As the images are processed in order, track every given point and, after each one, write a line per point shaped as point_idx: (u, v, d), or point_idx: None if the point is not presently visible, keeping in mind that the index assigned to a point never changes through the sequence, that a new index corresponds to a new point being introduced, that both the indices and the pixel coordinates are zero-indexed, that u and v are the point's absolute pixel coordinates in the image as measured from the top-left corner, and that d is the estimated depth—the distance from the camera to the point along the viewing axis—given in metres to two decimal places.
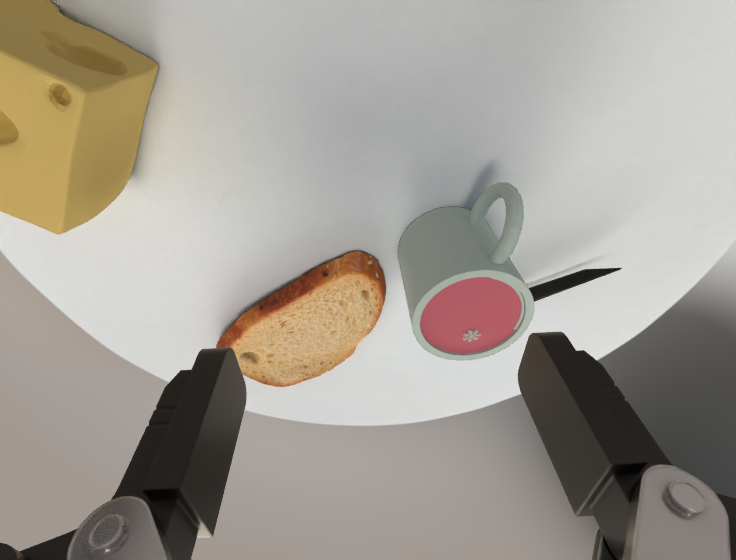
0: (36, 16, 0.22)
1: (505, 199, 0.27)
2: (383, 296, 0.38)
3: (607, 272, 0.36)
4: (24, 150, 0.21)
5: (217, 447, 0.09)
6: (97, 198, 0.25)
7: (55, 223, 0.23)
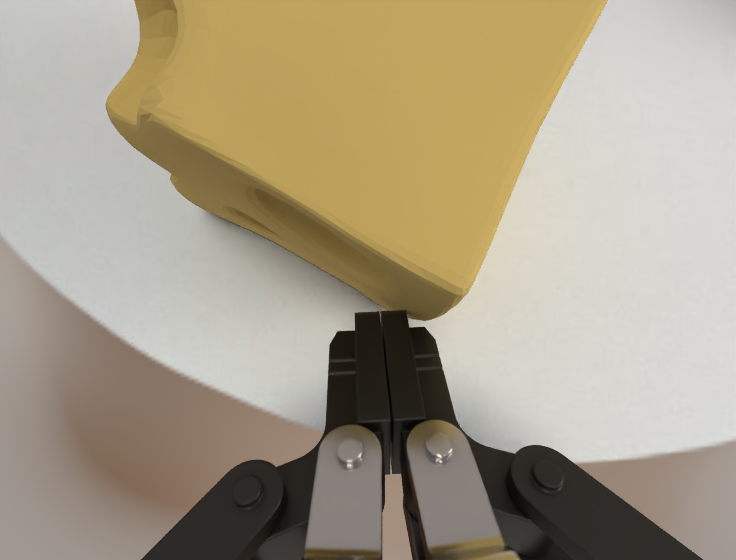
0: None
1: None
2: None
3: None
4: None
5: None
6: None
7: None
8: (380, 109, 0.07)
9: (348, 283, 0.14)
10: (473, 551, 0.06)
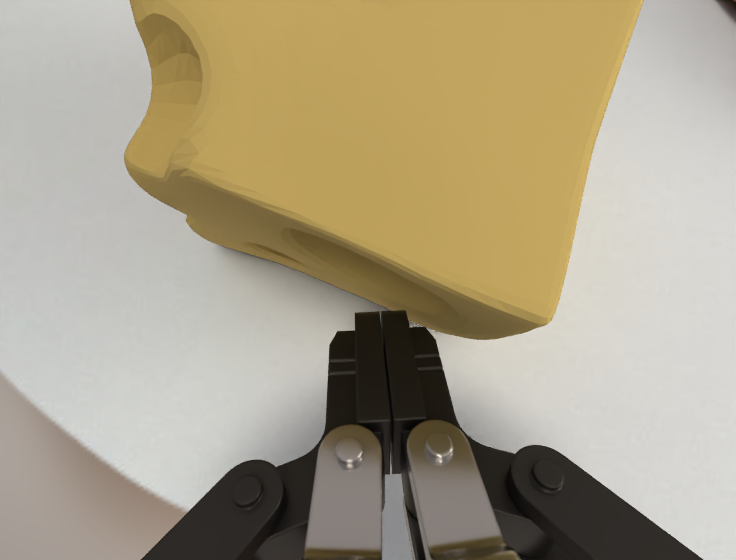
0: None
1: None
2: None
3: None
4: None
5: None
6: None
7: None
8: (431, 138, 0.07)
9: (381, 304, 0.14)
10: (473, 551, 0.06)
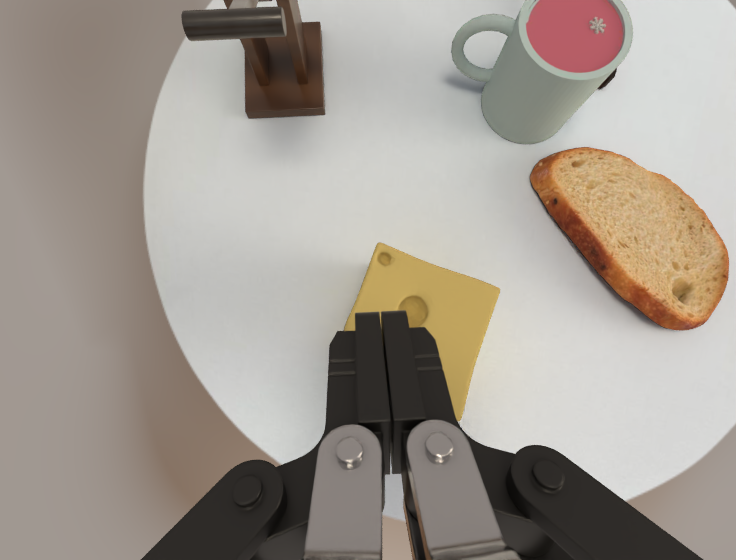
0: None
1: (461, 42, 0.34)
2: None
3: None
4: (428, 293, 0.28)
5: None
6: None
7: (489, 288, 0.28)
8: None
9: None
10: (473, 551, 0.06)
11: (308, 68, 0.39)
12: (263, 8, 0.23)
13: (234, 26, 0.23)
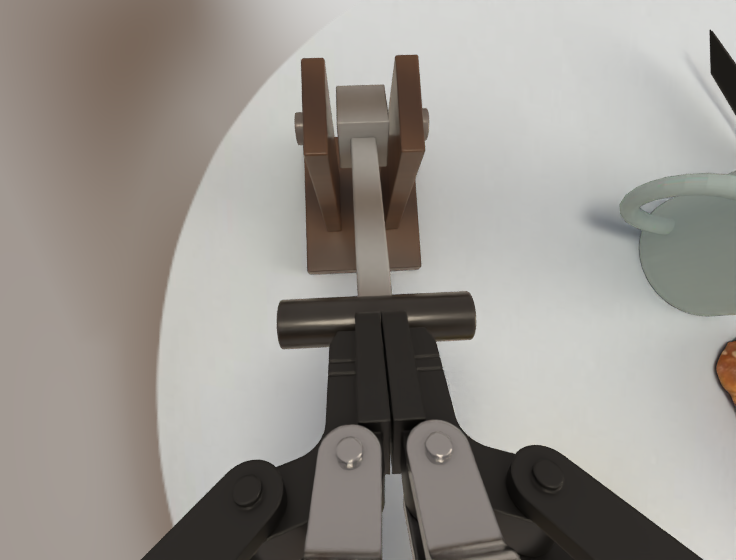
0: None
1: (654, 199, 0.22)
2: None
3: (718, 44, 0.28)
4: None
5: None
6: None
7: None
8: None
9: None
10: (473, 551, 0.06)
11: None
12: (439, 307, 0.12)
13: None
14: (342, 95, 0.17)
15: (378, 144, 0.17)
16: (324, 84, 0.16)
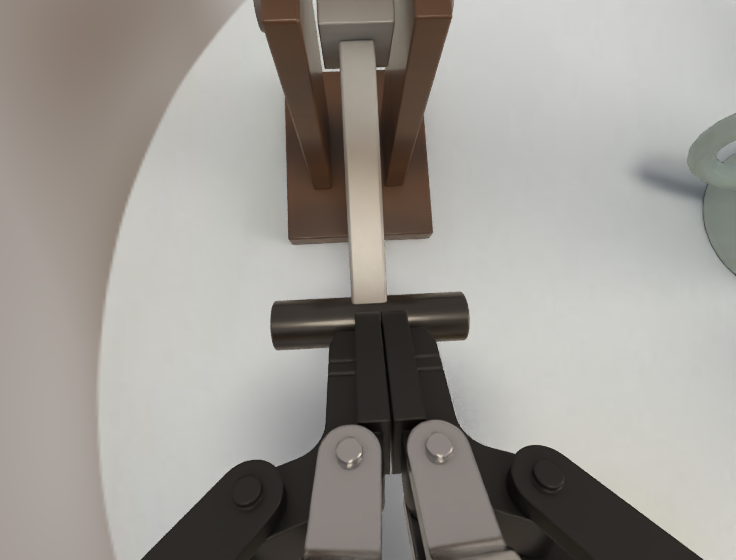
0: None
1: None
2: None
3: None
4: None
5: None
6: None
7: None
8: None
9: None
10: (473, 551, 0.06)
11: None
12: (434, 324, 0.11)
13: None
14: None
15: (377, 46, 0.12)
16: None
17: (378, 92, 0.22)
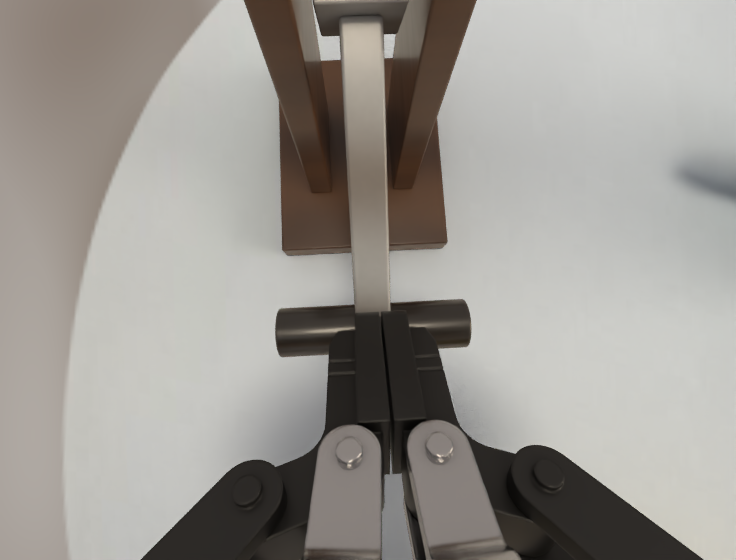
0: None
1: None
2: None
3: None
4: None
5: None
6: None
7: None
8: None
9: None
10: (474, 551, 0.06)
11: None
12: (436, 337, 0.12)
13: None
14: None
15: (386, 19, 0.10)
16: None
17: None
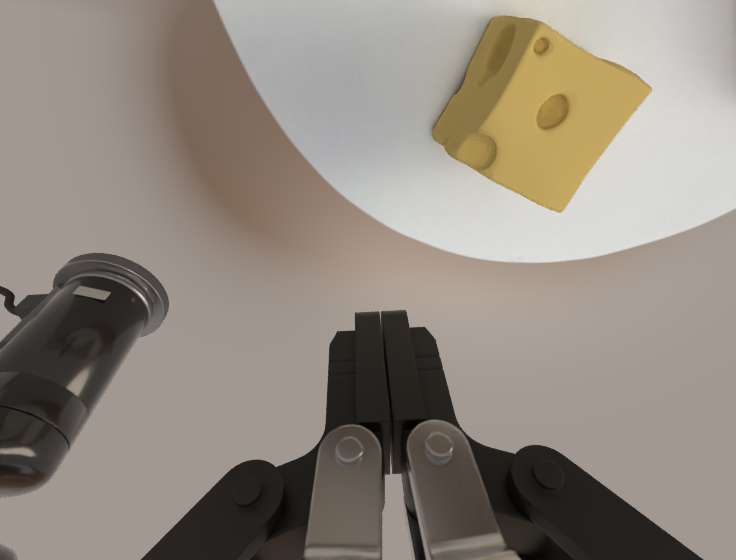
0: (467, 94, 0.31)
1: None
2: None
3: None
4: (576, 92, 0.26)
5: None
6: (617, 64, 0.27)
7: (641, 88, 0.26)
8: (550, 173, 0.29)
9: None
10: (473, 551, 0.06)
11: None
12: None
13: None
14: None
15: None
16: None
17: None
